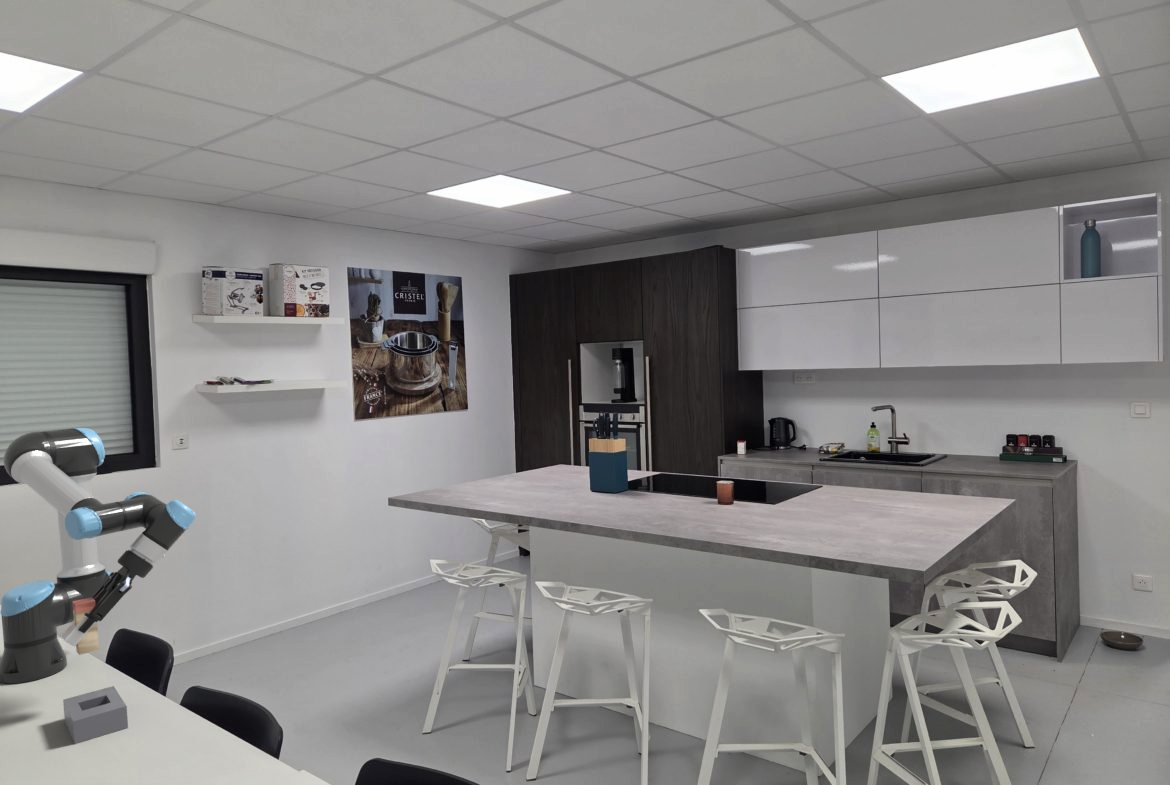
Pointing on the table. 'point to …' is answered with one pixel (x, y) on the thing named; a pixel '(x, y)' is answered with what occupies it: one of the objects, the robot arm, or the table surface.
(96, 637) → the plug peg
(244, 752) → the table surface
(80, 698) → the socket block
